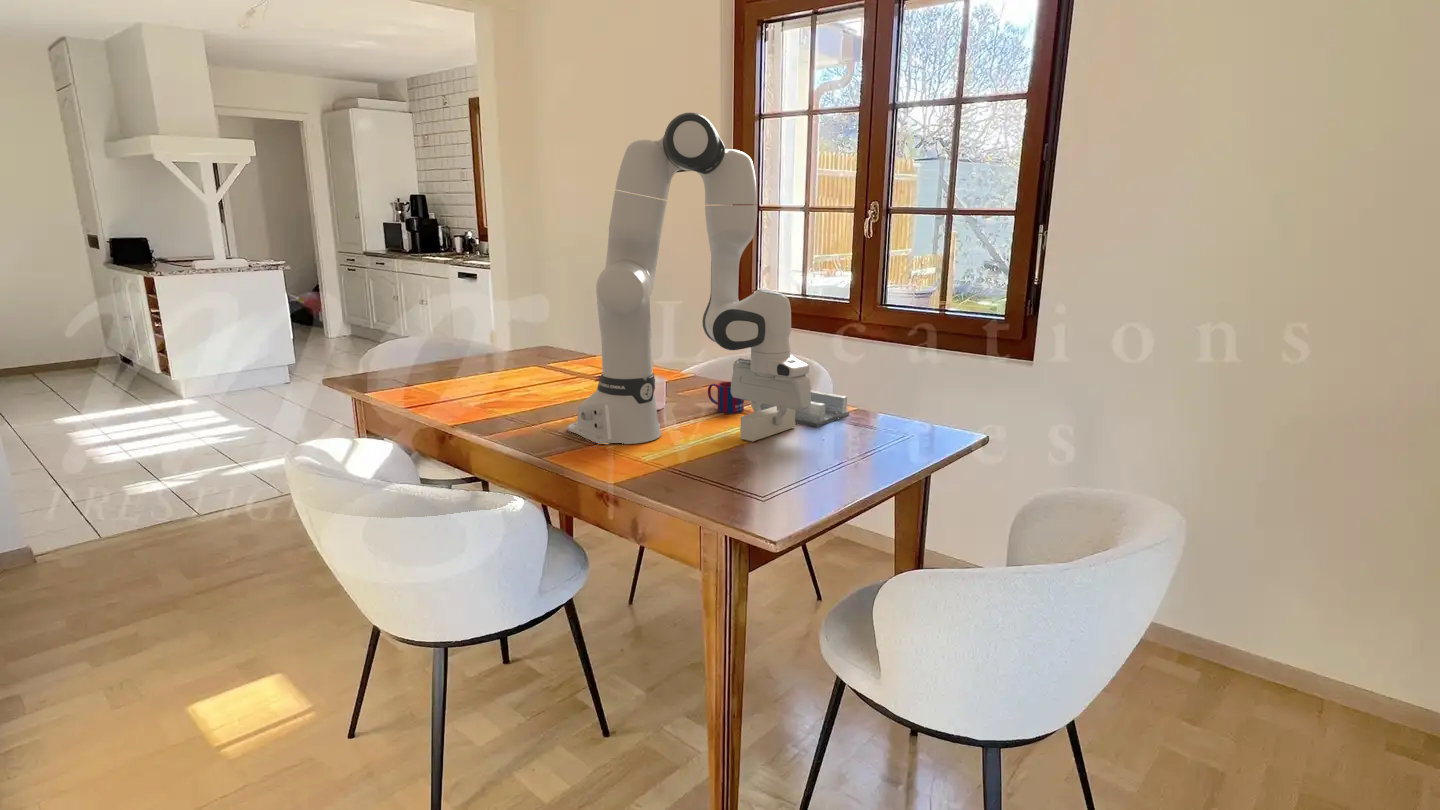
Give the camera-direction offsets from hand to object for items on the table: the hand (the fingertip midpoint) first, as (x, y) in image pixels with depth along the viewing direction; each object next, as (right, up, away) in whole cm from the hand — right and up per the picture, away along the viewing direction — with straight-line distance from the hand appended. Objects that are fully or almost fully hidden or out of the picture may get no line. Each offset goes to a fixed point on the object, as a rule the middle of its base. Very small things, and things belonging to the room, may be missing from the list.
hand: (768, 422), depth 178 cm
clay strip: (0, -2, +1) cm, 2 cm away
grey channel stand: (+10, +2, +18) cm, 20 cm away
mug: (-10, +3, +22) cm, 25 cm away
